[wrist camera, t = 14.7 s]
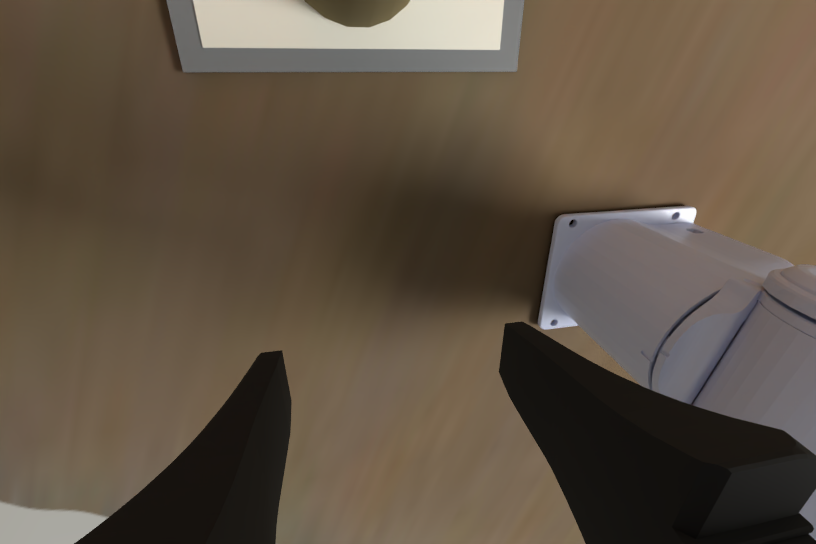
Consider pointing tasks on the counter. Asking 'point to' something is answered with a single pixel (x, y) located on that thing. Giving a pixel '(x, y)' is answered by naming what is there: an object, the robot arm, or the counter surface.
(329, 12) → the cork
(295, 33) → the notepad
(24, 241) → the counter surface
